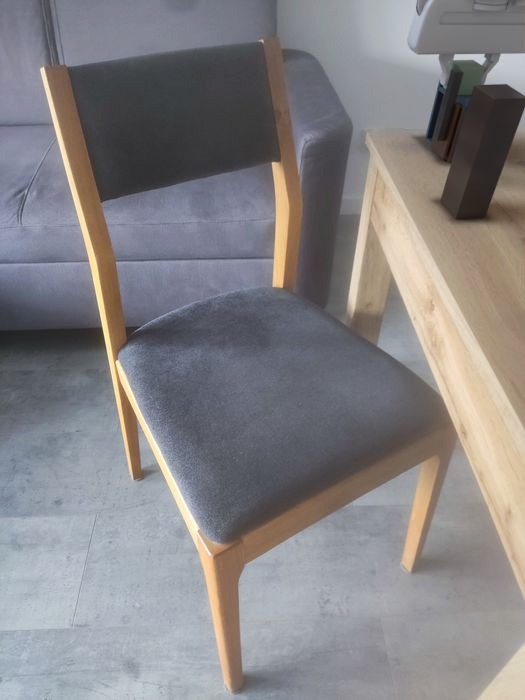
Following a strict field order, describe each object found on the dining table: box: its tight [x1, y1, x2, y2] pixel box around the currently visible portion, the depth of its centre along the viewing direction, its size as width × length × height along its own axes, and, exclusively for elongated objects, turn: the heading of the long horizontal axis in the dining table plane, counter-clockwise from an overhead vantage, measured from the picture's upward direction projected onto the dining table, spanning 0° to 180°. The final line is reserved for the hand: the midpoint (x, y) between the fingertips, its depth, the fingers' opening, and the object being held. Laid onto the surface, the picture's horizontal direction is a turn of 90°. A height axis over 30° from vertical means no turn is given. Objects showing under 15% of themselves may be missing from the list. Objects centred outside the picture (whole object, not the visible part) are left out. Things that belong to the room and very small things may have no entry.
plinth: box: [439, 83, 525, 220], centre depth 68 cm, size 4×5×16 cm
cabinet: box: [424, 79, 471, 164], centre depth 85 cm, size 6×10×10 cm, turn 11°
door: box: [429, 69, 464, 160], centre depth 82 cm, size 2×5×13 cm, turn 10°
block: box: [443, 59, 485, 95], centre depth 83 cm, size 4×4×4 cm
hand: (461, 84), depth 83 cm, fingers closed on block, 4 cm apart
